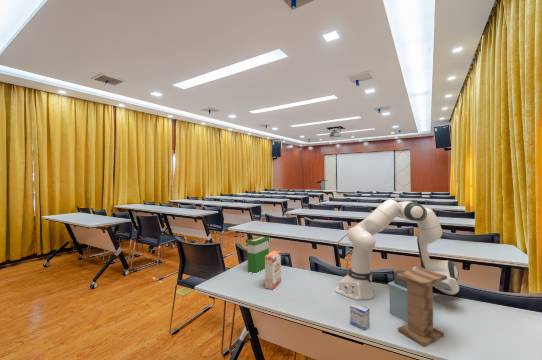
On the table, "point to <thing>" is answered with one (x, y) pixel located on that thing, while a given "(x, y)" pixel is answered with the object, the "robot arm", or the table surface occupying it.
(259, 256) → the hardback book
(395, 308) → the grey-blue block
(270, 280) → the cracker box
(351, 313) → the medicine box
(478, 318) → the table surface
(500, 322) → the table surface
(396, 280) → the mallet
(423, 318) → the stand
